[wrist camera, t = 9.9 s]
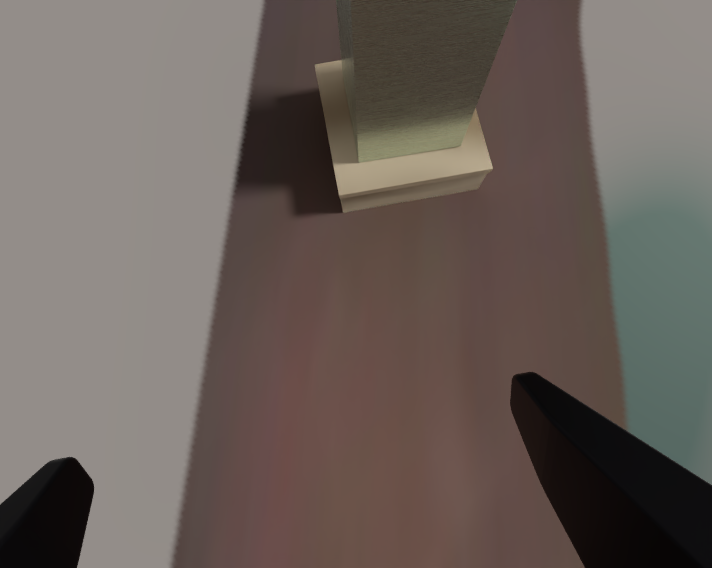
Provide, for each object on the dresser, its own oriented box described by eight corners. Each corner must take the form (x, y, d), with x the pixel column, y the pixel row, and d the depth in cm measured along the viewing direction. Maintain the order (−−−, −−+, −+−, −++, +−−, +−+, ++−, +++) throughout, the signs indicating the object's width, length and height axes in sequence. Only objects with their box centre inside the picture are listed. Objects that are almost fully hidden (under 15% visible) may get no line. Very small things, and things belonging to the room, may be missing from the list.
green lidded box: (463, 147, 22) (565, -112, 11) (357, 164, 22) (343, -76, 11) (440, 57, 24) (509, -260, 12) (340, 74, 24) (312, -229, 12)
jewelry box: (477, 194, 25) (492, 168, 22) (342, 218, 25) (339, 195, 22) (445, 76, 27) (455, 38, 24) (319, 97, 27) (314, 62, 24)
